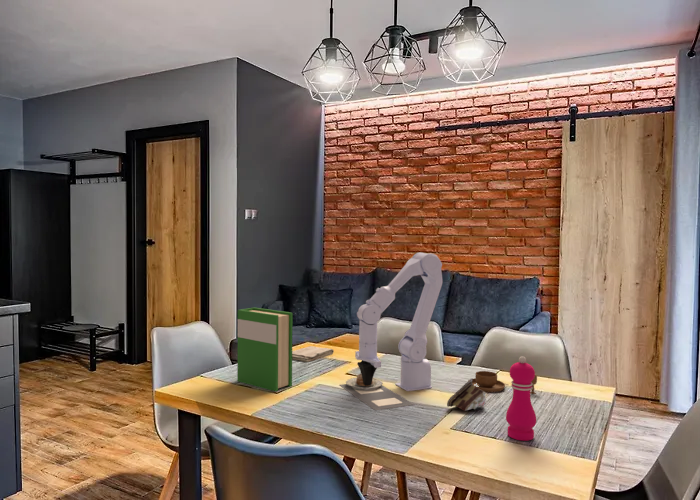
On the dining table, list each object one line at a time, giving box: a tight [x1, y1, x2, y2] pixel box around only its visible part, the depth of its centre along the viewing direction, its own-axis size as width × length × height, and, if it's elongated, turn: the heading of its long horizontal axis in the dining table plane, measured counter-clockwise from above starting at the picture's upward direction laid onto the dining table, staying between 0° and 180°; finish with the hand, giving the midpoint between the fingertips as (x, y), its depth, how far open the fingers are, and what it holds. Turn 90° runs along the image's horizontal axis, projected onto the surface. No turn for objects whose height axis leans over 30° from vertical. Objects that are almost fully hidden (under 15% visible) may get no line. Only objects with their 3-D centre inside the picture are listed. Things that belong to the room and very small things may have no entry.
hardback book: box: [236, 307, 294, 392], centre depth 171 cm, size 18×7×24 cm, turn 54°
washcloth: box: [292, 345, 335, 363], centre depth 210 cm, size 12×18×3 cm, turn 149°
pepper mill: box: [505, 355, 537, 442], centre depth 130 cm, size 7×7×20 cm
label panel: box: [339, 383, 415, 411], centre depth 162 cm, size 13×26×1 cm, turn 24°
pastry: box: [345, 373, 384, 391], centre depth 170 cm, size 12×12×5 cm
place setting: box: [467, 370, 538, 395], centre depth 169 cm, size 18×20×6 cm
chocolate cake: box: [446, 378, 487, 412], centre depth 150 cm, size 10×7×12 cm
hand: (367, 384), depth 166 cm, fingers closed
